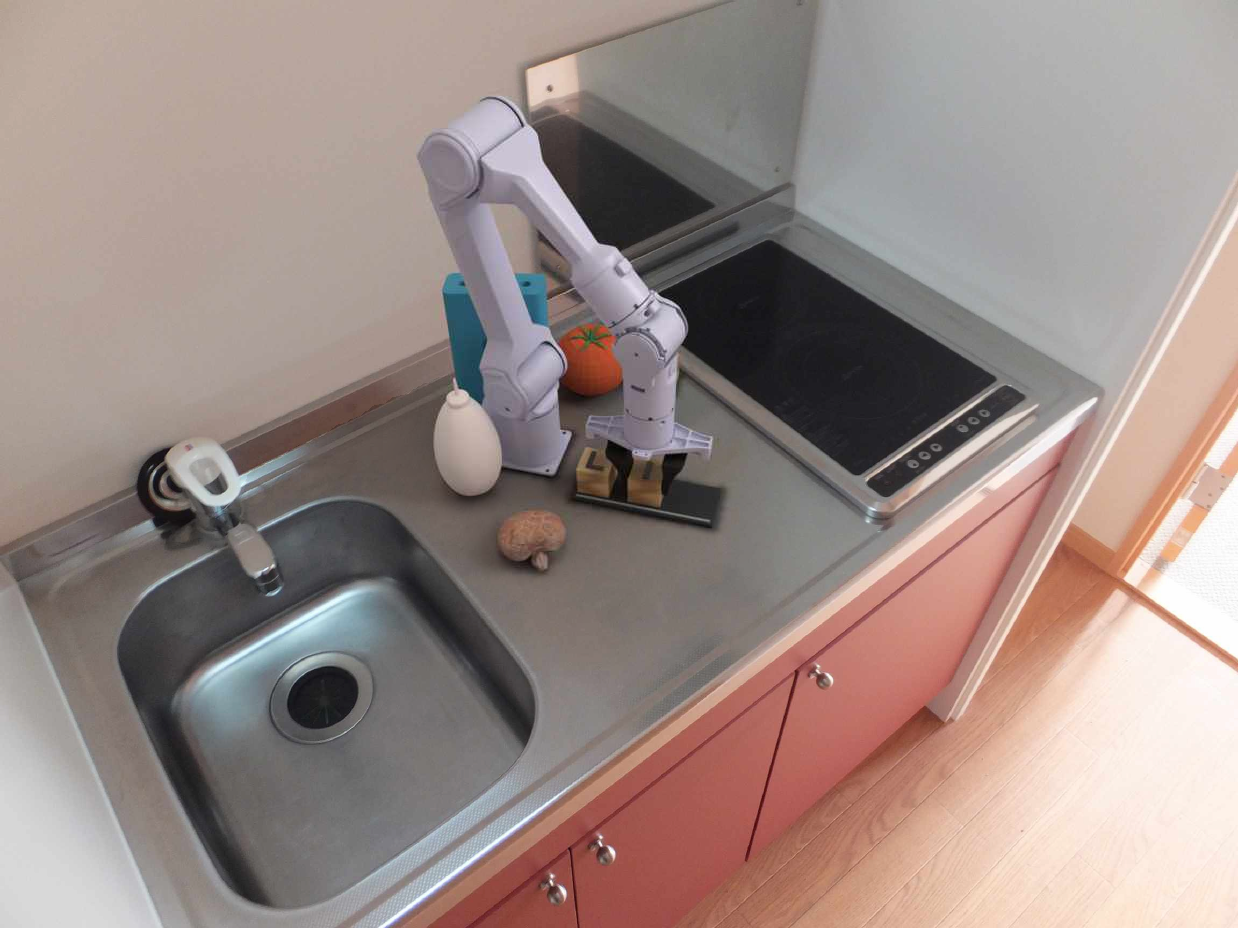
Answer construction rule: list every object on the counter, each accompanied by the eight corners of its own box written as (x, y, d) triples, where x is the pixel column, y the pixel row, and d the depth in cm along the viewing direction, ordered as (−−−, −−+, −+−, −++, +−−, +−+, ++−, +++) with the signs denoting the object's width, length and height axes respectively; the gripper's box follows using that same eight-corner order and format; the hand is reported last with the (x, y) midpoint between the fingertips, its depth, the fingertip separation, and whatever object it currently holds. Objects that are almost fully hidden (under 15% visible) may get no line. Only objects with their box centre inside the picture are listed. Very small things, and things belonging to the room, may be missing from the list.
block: (554, 404, 119) (546, 273, 106) (551, 427, 116) (542, 294, 102) (467, 403, 120) (448, 272, 106) (461, 426, 116) (440, 293, 103)
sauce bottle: (498, 458, 112) (481, 349, 99) (513, 502, 107) (496, 392, 94) (438, 473, 110) (412, 363, 97) (450, 518, 105) (424, 408, 92)
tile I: (627, 501, 106) (627, 478, 103) (635, 478, 109) (635, 454, 106) (659, 507, 105) (660, 484, 102) (666, 484, 108) (667, 460, 105)
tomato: (543, 398, 120) (537, 341, 113) (576, 355, 126) (572, 298, 119) (610, 419, 117) (609, 362, 110) (641, 373, 123) (641, 316, 116)
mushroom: (581, 565, 100) (567, 503, 104) (555, 551, 95) (542, 487, 99) (524, 587, 102) (513, 526, 106) (497, 575, 97) (486, 511, 101)
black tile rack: (572, 500, 107) (571, 497, 107) (585, 466, 111) (585, 462, 111) (711, 528, 104) (712, 524, 103) (721, 491, 108) (721, 488, 107)
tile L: (577, 491, 107) (575, 468, 104) (586, 469, 110) (585, 445, 107) (608, 498, 106) (608, 475, 103) (617, 474, 109) (617, 451, 106)
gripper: (575, 416, 95) (580, 498, 105) (707, 439, 92) (699, 521, 102) (593, 374, 100) (596, 457, 109) (719, 395, 97) (710, 478, 107)
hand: (647, 485), depth 106 cm, fingers closed on tile I, 4 cm apart
